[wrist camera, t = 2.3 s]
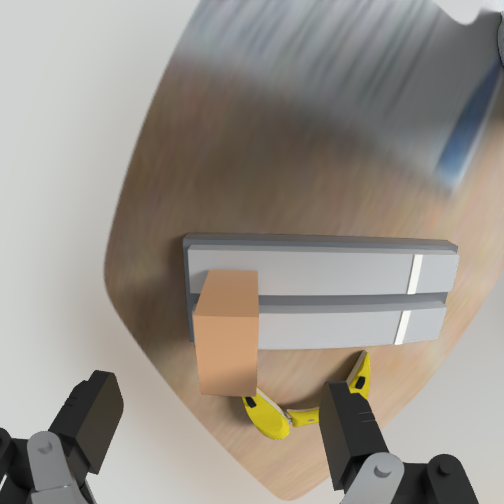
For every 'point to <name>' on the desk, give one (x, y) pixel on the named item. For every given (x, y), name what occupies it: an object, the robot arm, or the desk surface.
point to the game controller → (276, 421)
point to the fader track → (331, 286)
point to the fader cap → (228, 333)
